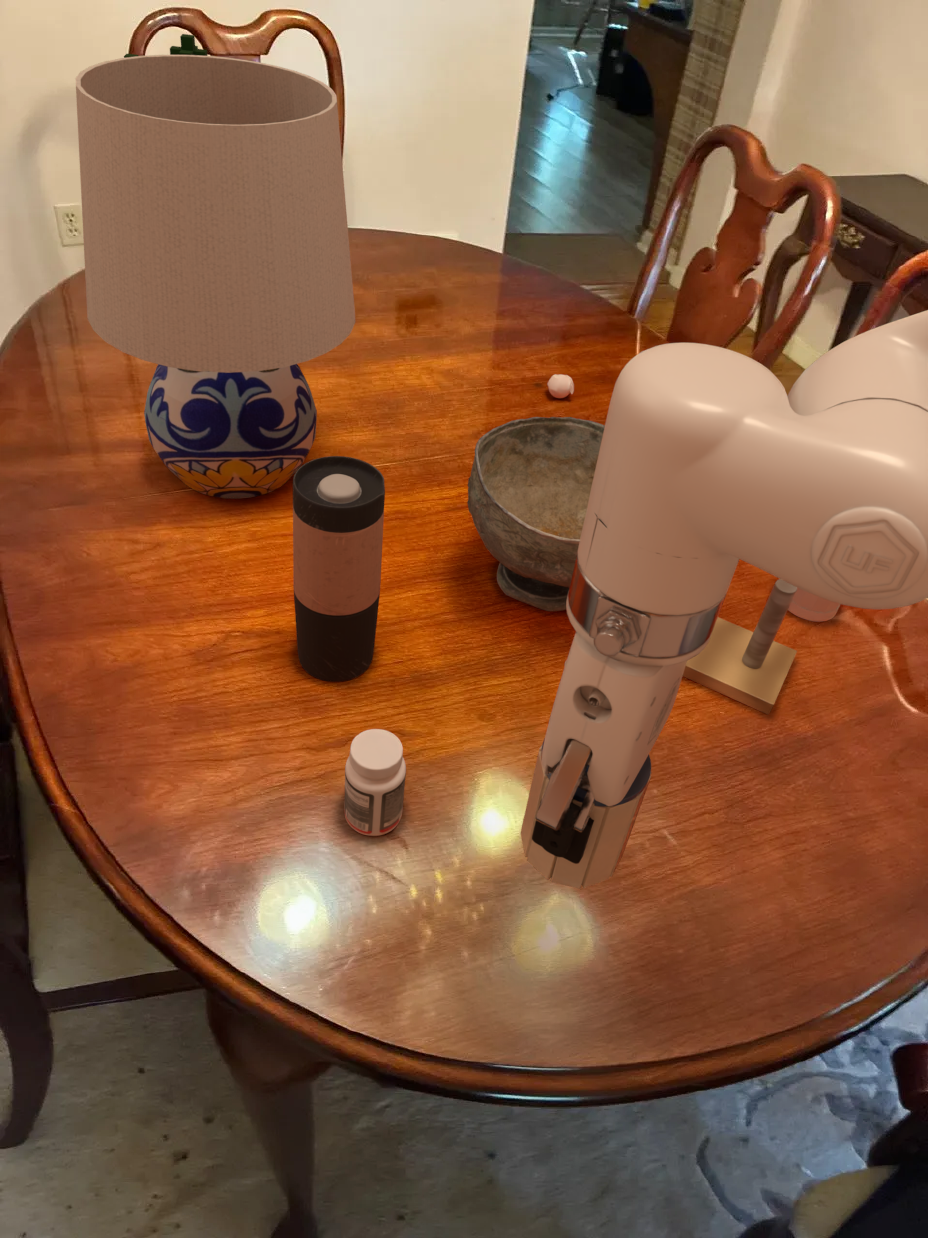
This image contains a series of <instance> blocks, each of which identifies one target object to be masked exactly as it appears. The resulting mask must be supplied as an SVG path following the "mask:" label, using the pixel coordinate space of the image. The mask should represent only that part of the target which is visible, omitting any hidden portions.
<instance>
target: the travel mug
mask: <svg viewBox="0 0 928 1238" xmlns="http://www.w3.org/2000/svg"><path fill="white" fill-rule="evenodd" d="M385 485H386V484H385V477H384V474H382V472H381V471H380V470H379V469H378V468H376V467H375V466H374V465H372V464H371V463H369V462H367V461H365V460H363V459H359V458H355V457H351V456H343V455H342V456H341V455H331V456H330V455H329V456H328V455H327V456H322V457H317V458H315V459H312V460H308V461H307V462H305V463H303V464H301V466H300V467H299V468H298V469H297V471H296V472H295V473H294V474H293V479H292V558H293V560H292V561H293V562H292V563H293V565H292V566H293V567H292V570H293V574H292V575H293V577H292V579H293V580H292V581H293V598H294V599H293V601H294V617H295V634H296V648H297V656H298V657H297V658H298V661H299V664H300V666H301V667H302V669H303V670H304V672H306V673H307V674H308V675H310V676H311V677H313V678H315V679H318V680H321V681H324V682H331V683H340V682H342V683H343V682H346V681H351V680H354V679H356V678H359V677H360V676H361V675H362V674H364V673H365V672H366V671H368V669H369V668H370V666H371V665H372V663H373V662H372V661H373V659H374V652H375V645H376V644H375V643H376V633H377V624H378V615H379V614H378V613H379V605H380V595H381V581H382V562H383V561H382V559H383V540H384V522H385V521H384V519H385V498H386V486H385Z"/></svg>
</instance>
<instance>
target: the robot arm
mask: <svg viewBox="0 0 928 1238" xmlns="http://www.w3.org/2000/svg"><path fill="white" fill-rule="evenodd" d="M612 390H613V391H612V394H611V397H610V401H609V405H608V410H607V414H606V419H605V423H604V425H605V428H604V432H603V437H602V441H601V446H600V451H599V455H598V460H597V464H596V469H595V473H594V478H593V482H592V487H591V491H590V496H589V501H588V506H587V511H586V516H585V520H584V524H583V528H582V533H581V537H580V542H579V547H578V551H577V556H576V560H575V565H574V569H573V574H572V578H571V583H570V588H569V591H568V596H567V601H566V615H567V617H568V621H569V623H570V624H571V626H572V627H573V629H574V631H575V633H574V637H573V639H572V642H571V645H570V648H569V650H568V651H569V652H568V655H567V658H566V659H565V662H564V667H563V671H562V674H561V677H560V681H559V684H558V688H557V691H556V694H555V698H554V702H553V705H552V709H551V711H550V715H549V716H550V717H549V719H548V724H547V727H546V732H545V736H544V738H545V740H544V739H543V741H544V745H543V750H542V758H541V764H542V768H543V771H544V773H545V774H546V775H548V774H549V773H551V777H550V779H549V782H548V784H547V787H546V790H545V792H544V795H543V797H542V800H541V801H540V805H539V808H538V812H537V815H536V818H535V820H536V822H535V826H534V830H533V834H532V840H533V841H534V842H535V843H536V844H538V845H540V846H542V847H543V849H544V850H546V851H547V852H549V853H550V854H552V855H554V856H557V857H563V858H565V859H566V860H568V861H570V862H572V863H575V864H578V863H579V862H580V861H581V859H582V857H583V855H584V851H585V848H586V845H587V842H588V839H589V835H590V832H591V829H592V826H593V823H594V820H592V818H591V817H590V815H591V813H592V810H593V808H594V805H595V803H596V801H598V802H601V803H603V804H605V805H607V806H613V805H616V804H618V803H619V802H621V801H622V799H623V798H624V797H625V795H626V793H627V792H628V790H629V788H630V787H631V785H632V783H633V781H634V780H635V778H636V776H637V774H638V773H639V771H640V769H641V767H642V765H643V764H644V762H645V760H646V758H647V757H648V755H649V756H650V753H651V751H652V749H653V748H654V746H655V743H657V740H658V738H659V736H660V734H661V733H662V731H663V729H664V727H665V725H666V723H667V721H668V719H669V717H670V715H671V712H672V711H673V707H674V706H675V702H676V699H677V696H678V693H679V689H680V686H681V682H682V679H683V673H684V669H685V666H686V663H687V660H690V659H691V658H693V657H695V656H697V655H698V654H699V653H700V652H701V651H702V650H703V649H704V648H705V647H706V645H707V644H708V642H709V640H710V637H711V634H712V631H713V629H714V626H715V624H716V621H717V618H718V617H719V616H720V613H721V610H722V607H723V605H724V602H725V599H726V597H727V594H728V592H729V588H730V586H731V582H732V581H733V577H734V574H735V573H736V570H737V568H738V564H739V562H740V560H741V561H743V562H745V563H747V564H749V565H751V566H753V567H755V568H757V569H758V570H761V571H763V572H766V573H768V574H770V575H772V576H774V577H775V578H778V580H779V579H781V580H783V581H785V582H787V583H789V584H791V585H793V586H796V587H798V588H800V589H802V590H804V591H806V592H809V593H811V594H813V595H816V596H818V597H821V598H824V599H826V600H829V601H832V602H835V603H839V604H841V605H843V606H847V607H853V608H858V609H863V610H892V609H899V608H904V607H909V606H912V605H915V604H918V603H921V602H923V601H924V600H926V599H928V309H927V310H924V311H921V312H918V313H915V314H912V315H909V316H906V317H903V318H900V319H896V320H894V321H891V322H888V323H885V324H882V325H880V326H877V327H874V328H872V329H869V330H866V331H864V332H861V333H860V334H858V335H855V336H853V337H851V338H849V339H847V340H845V341H843V342H841V343H840V344H838V345H836V346H834V347H833V348H831V349H829V350H828V351H826V352H824V353H823V354H821V355H819V357H817V358H816V360H814V361H812V363H810V364H809V365H808V366H807V367H806V368H805V369H804V370H803V372H802V373H801V374H800V375H799V376H798V378H797V379H796V380H795V382H794V383H793V385H792V386H791V387H790V390H789V391H788V394H787V391H786V388H785V387H784V385H783V383H782V382H781V380H780V379H778V377H777V376H776V375H775V374H774V373H773V372H772V370H770V369H769V368H768V367H766V366H765V365H763V364H762V363H760V362H758V361H757V360H755V359H754V358H751V357H749V356H747V355H745V354H742V353H740V352H738V351H735V350H732V349H728V348H725V347H721V346H717V345H712V344H708V343H707V344H706V343H700V342H699V343H698V342H683V341H682V342H669V343H663V344H659V345H654V346H652V347H650V348H647V349H645V350H642V351H640V352H639V353H638V354H636V355H635V356H634V357H632V358H631V359H630V360H628V362H627V363H626V364H625V365H624V367H623V368H622V370H621V371H620V372H619V375H618V377H617V378H616V380H615V383H614V386H613V389H612ZM588 765H589V769H588V772H586V769H587V767H588ZM578 787H579V788H581V789H583V790H585V791H587V794H586V796H585V798H584V801H583V803H582V806H581V807H580V806H578V805H576V804H574V803H572V802H571V801H572V799H573V797H574V795H575V792H576V790H577V788H578Z"/></svg>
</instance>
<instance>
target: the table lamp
mask: <svg viewBox="0 0 928 1238" xmlns="http://www.w3.org/2000/svg"><path fill="white" fill-rule="evenodd" d="M75 98H76V113H77V114H76V115H77V136H78V138H77V139H78V154H79V155H78V157H79V175H80V177H79V178H80V196H81V217H82V235H83V254H84V255H83V257H84V259H83V260H84V276H85V277H84V278H85V279H84V280H85V296H86V297H85V298H86V315H87V316H86V317H87V321H88V323H89V325H90V326H91V328H92V331H93V332H95V333H96V334H97V336H99V338H101V339H102V341H104V342H105V344H106V343H107V344H108V345H109V346H112V347H113V348H115V349H116V350H119V351H120V352H122V353H124V354H126V355H129V356H132V357H134V358H137V359H139V360H142V361H144V362H148V363H151V364H156V365H157V366H156V367H155V370H154V373H153V376H152V378H151V380H150V382H149V386H148V389H147V394H146V400H145V406H144V411H143V414H144V423H145V427H146V432H147V437H148V441H149V443H150V445H151V447H152V449H153V451H154V452H155V453H156V454H157V456H158V457H159V458H160V460H161V461H162V463H163V464H164V466H165V467H166V468H168V470H169V471H170V472H171V473H173V475H174V476H176V477H177V479H179V480H180V481H181V482H182V484H184V485H185V486H187V487H188V488H190V489H192V490H193V491H195V492H198V493H200V494H202V495H206V496H209V497H213V498H220V499H237V500H239V499H249V498H255V497H260V496H263V495H266V494H269V493H271V492H274V491H275V490H277V489H279V488H281V487H282V486H284V485H285V484H286V483H287V482H288V481H289V480H290V479H291V477H293V476H294V475H295V473H296V471H297V470H298V469H299V468H300V467H301V466H302V465H303V464H304V462H305V460H306V459H307V456H308V454H309V452H310V450H311V449H312V447H313V444H314V442H315V440H316V437H317V436H316V435H317V419H318V418H317V417H318V416H317V415H318V414H317V413H318V410H317V407H316V404H315V400H314V396H313V394H312V393H313V392H312V390H311V387H310V384H309V383H308V381H307V379H306V378H305V375H304V373H303V371H302V369H301V367H300V366H299V365H298V364H302V363H306V362H309V361H311V360H313V359H316V358H318V357H320V356H323V355H326V354H327V353H329V352H330V351H332V350H333V349H335V348H337V347H338V346H340V345H341V344H343V342H344V341H345V340H346V339H347V338H348V337H349V336H350V335H351V334H352V331H353V329H354V326H355V324H356V307H355V297H354V296H355V295H354V285H353V273H352V262H351V260H352V259H351V248H350V240H349V239H350V238H349V227H348V226H349V225H348V217H347V216H348V214H347V204H346V202H347V201H346V190H345V181H344V168H343V167H344V166H343V157H342V145H341V134H340V133H341V132H340V122H339V121H340V120H339V110H338V109H339V108H338V99H337V98H338V97H337V94H336V92H335V91H334V90H333V89H332V88H331V87H330V86H329V85H327V84H326V83H324V82H323V81H321V80H319V79H317V78H315V77H312V76H310V75H308V74H305V73H302V72H299V71H298V70H293V69H290V68H286V67H283V66H278V65H274V64H269V63H266V62H265V63H264V62H259V61H254V60H247V59H241V58H233V57H226V56H225V57H224V56H215V55H207V56H200V55H170V54H150V55H148V54H147V55H139V56H136V57H127V58H124V57H120V58H115V59H110V60H104V61H102V62H99V63H96V64H93V65H90V66H88V67H86V68H85V69H83V70H81V71H80V72H79V73H78V74H77V76H76V77H75Z"/></svg>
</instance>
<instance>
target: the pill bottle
mask: <svg viewBox="0 0 928 1238" xmlns="http://www.w3.org/2000/svg"><path fill="white" fill-rule="evenodd" d="M403 755H404V747H403V744H402V742H401V740H400V738H399V737H398V736H397V735H396V734H394V733H392V732H391V731H389V730H386V729H382V728H370V729H366V730H363V731H362V732H359V733H358V734H357V735H356V736H355V737H354V738H353V739H352V741H351V744H350V747H349V756H348V757H347V759H346V763H345V765H344V766H345V767H344V768H345V769H344V803H343V804H344V805H343V809H344V812H343V813H344V817H345V820H346V822H347V824H348V826H349V827H350V828H351V829H353V830H354V831H355V832H357V833H359V834H361V835H365V836H370V837H377V836H378V837H379V836H383V835H385V834H388V833H390V832H391V831H393V830H394V829H395V828H396V827H397V826H398V825H399V824H400V821H401V819H402V817H403V810H404V799H405V787H406V786H405V785H406V777H407V765H406V761H405V758H404V756H403Z"/></svg>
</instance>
